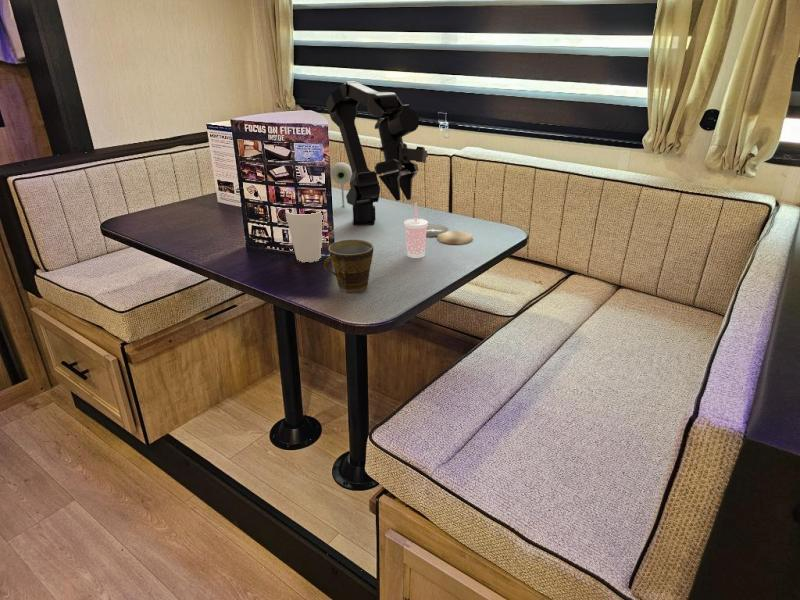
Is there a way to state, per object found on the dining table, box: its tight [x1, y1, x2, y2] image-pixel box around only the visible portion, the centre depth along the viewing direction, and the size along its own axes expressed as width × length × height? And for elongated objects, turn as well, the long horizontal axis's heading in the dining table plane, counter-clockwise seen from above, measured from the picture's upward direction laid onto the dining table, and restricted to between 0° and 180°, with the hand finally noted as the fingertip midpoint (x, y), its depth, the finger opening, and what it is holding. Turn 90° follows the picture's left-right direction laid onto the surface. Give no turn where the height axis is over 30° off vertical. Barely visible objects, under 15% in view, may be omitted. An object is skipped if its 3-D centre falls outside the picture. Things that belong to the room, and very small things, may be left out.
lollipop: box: [330, 161, 352, 207], centre depth 182 cm, size 7×7×15 cm
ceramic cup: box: [323, 239, 375, 295], centre depth 121 cm, size 13×10×10 cm
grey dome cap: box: [426, 223, 449, 238], centre depth 160 cm, size 10×10×1 cm
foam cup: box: [284, 209, 324, 263], centre depth 139 cm, size 10×9×13 cm
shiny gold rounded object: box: [436, 230, 473, 245], centre depth 154 cm, size 10×10×1 cm
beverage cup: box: [403, 202, 429, 259], centre depth 140 cm, size 6×6×14 cm
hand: (404, 200), depth 146 cm, fingers open, 9 cm apart
